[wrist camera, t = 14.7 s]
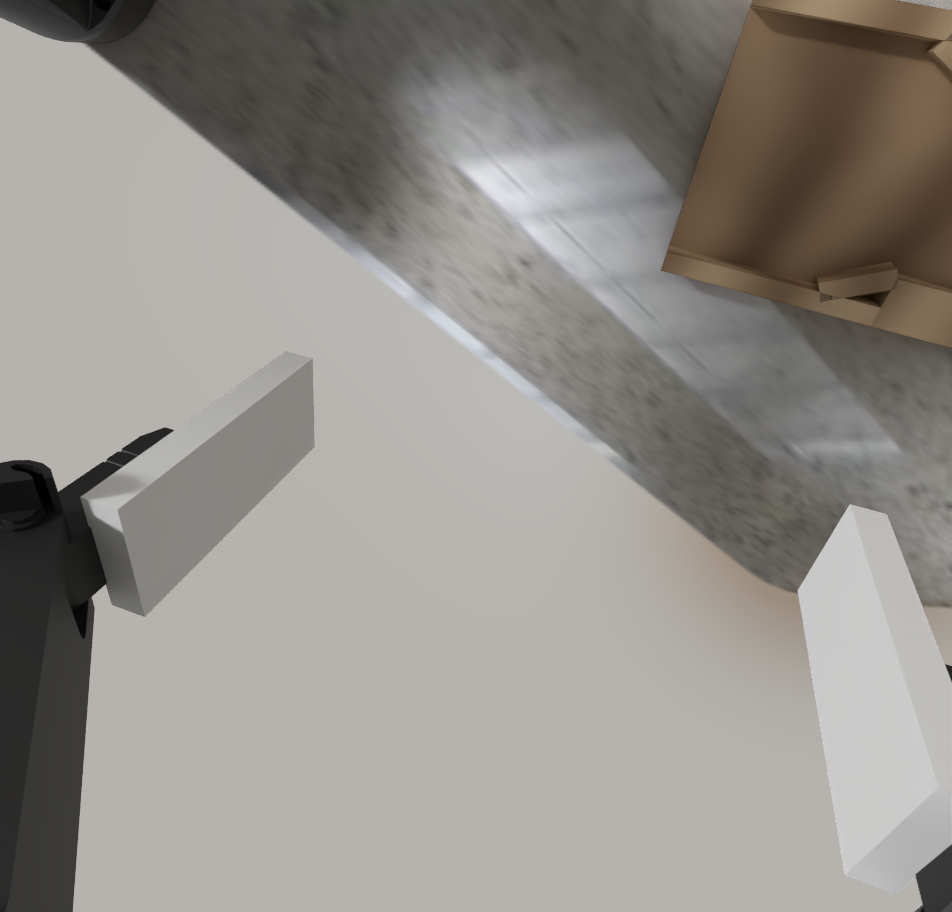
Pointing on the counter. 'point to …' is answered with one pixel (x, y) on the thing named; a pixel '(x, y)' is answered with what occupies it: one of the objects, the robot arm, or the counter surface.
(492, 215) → the counter surface
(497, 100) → the counter surface
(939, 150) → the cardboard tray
